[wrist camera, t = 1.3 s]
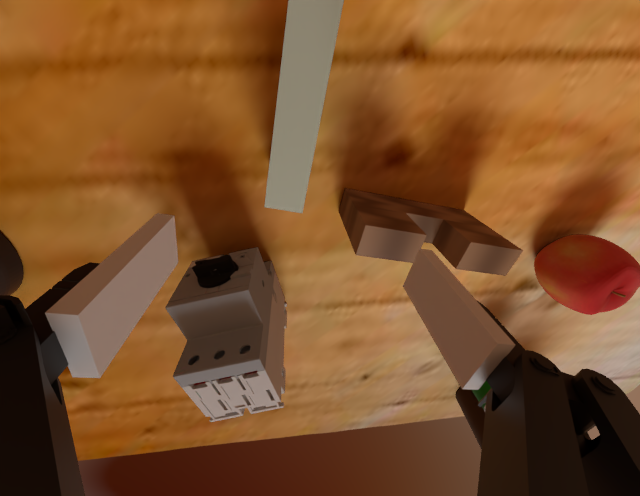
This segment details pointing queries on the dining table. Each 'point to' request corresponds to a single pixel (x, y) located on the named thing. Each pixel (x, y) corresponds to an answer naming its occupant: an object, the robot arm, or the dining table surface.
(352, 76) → the dining table surface
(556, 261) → the apple
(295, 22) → the grey panel
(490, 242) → the brown notched flat block
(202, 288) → the circuit breaker
